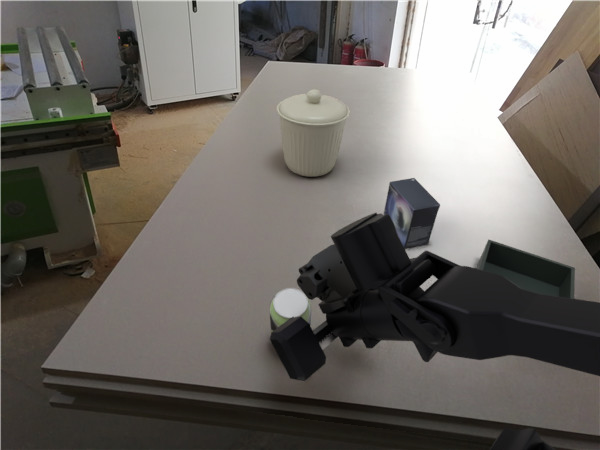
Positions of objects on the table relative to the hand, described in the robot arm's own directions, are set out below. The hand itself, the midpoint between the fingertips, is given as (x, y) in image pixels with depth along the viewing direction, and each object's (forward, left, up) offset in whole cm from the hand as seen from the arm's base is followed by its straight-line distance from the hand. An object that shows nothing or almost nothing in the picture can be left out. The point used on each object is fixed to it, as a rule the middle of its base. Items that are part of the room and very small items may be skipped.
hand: (305, 317), depth 57 cm
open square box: (+12, -39, -10) cm, 42 cm away
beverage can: (+2, +2, -10) cm, 11 cm away
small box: (+32, -23, -10) cm, 41 cm away
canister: (+59, -3, -10) cm, 60 cm away
